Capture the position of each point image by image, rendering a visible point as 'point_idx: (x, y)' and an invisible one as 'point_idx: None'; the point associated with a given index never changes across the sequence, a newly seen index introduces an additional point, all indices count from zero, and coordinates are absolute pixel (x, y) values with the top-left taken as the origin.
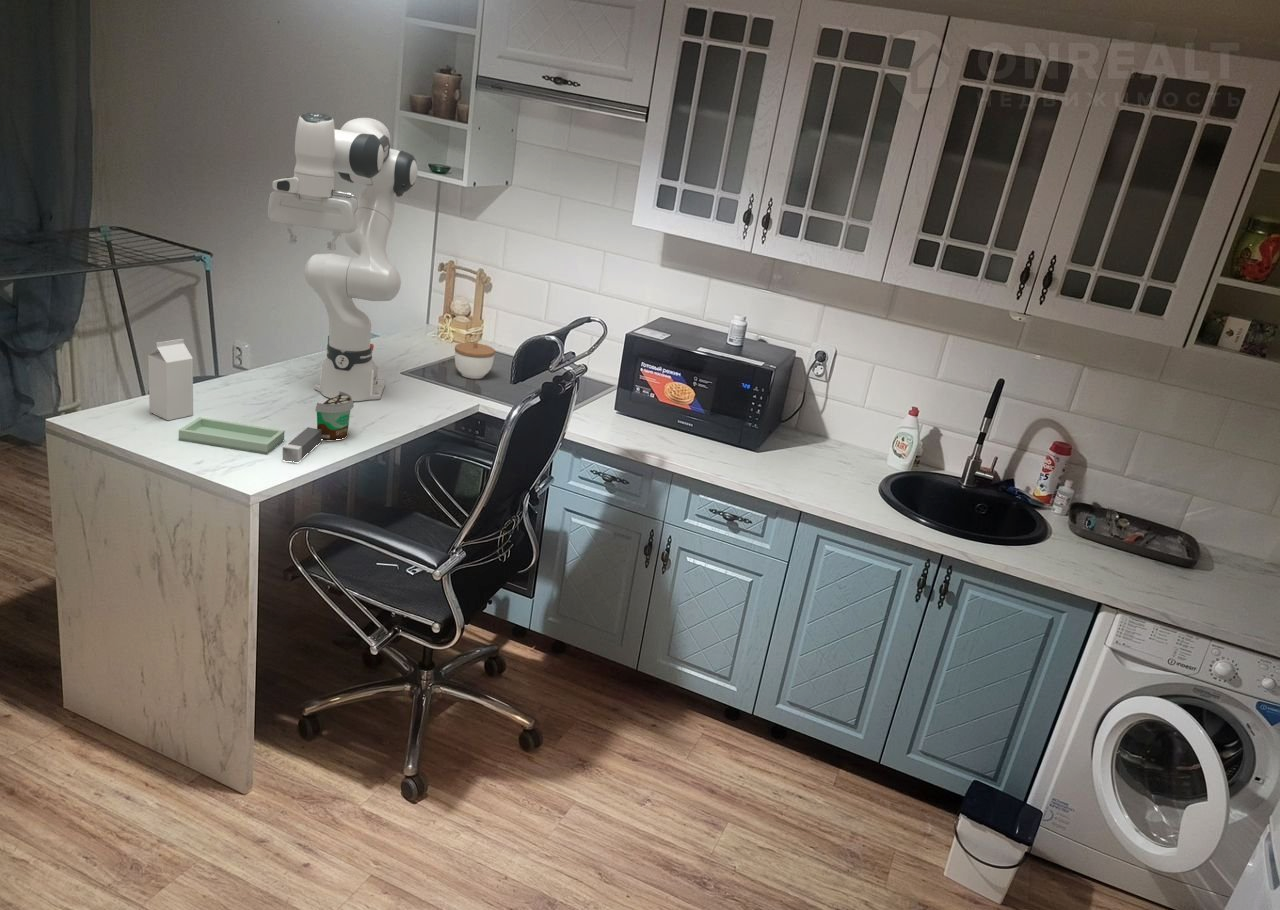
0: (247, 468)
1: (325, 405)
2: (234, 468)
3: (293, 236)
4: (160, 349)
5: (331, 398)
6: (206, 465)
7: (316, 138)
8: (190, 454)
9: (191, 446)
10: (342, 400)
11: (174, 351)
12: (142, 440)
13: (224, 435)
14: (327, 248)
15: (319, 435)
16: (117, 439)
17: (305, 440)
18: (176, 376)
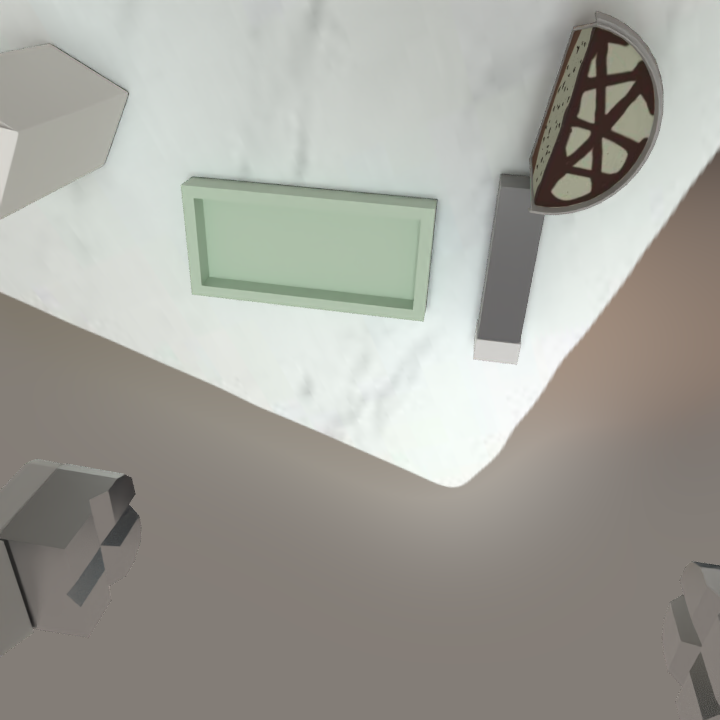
0: (411, 394)
1: (564, 211)
2: (386, 400)
3: (72, 626)
4: None
5: (572, 109)
6: (326, 398)
7: None
8: (268, 353)
9: (246, 310)
10: (618, 103)
11: None
12: (139, 307)
13: (284, 236)
14: (665, 645)
15: None
16: (95, 317)
17: (519, 294)
18: (37, 175)
